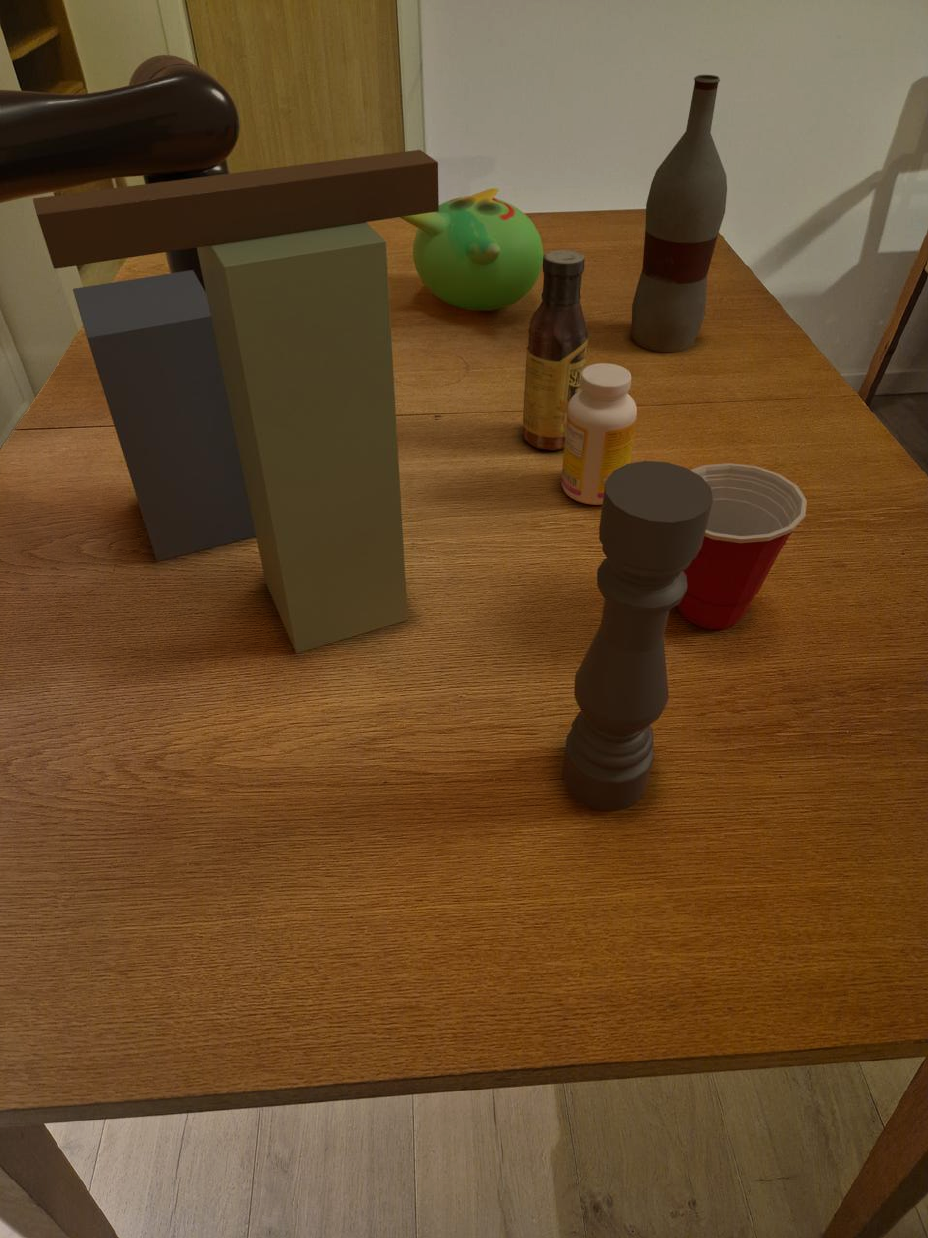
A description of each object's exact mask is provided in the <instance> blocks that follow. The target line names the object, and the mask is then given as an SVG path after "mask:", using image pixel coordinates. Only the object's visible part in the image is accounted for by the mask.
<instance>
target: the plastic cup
mask: <svg viewBox="0 0 928 1238" xmlns="http://www.w3.org/2000/svg"><path fill="white" fill-rule="evenodd" d="M690 470H691V471H692V472H694V473H696V474H698V475H699V476H701V477H702V478H703V479H704V480H705V481H706V483H707V484H708V485H709V486H710V487H711V491H712V497H713V502H712V506H711V510H710V514H709V519H708V523H707V527H706V531H705V535H704V539H703V543H702V547H701V549H700V551H699V552H698V554H697V556H696V558H695V559H693V560H692V561H691V563H690V565H689V566H688V568H687V569H685V570H683V572H684V573H685V575H686V578H687V591H686V593H685V595H684V596H683V598H682V600H681V602H680V603H679V604H678V605H677V609H678V612H679V614H680V615H681V616H682V617H683V618H684V619H685V620H686V621H688V622H689V623H691V624H693V625H695V626H697V627H700V628H703V629H708V630H726V629H728V628H731V627H734V626H735V625H736V624H737V623H738V622H739V621H740V620H741V619H742V618H743V617H744V616H745V614H747V613H746V612H747V611H748V609H749V607H750V605H751V604H752V602H753V600H754V598H755V596H756V595H757V594H758V593H759V591H760V590H761V587H762V586H763V584H764V582H765V581H766V578H767V577H768V575H769V574H770V571H771V569H772V567H773V566H774V563H775V562H776V560H777V558H778V556H779V554H780V553H781V551H782V549H783V548H784V546H785V545H786V543H787V541H788V539H789V537H790V536H791V535H792V534H793V531H794V530H795V528H797V526H799V525H800V523H801V522H802V521H804V519H805V517H806V515H807V505H808V499H807V498H806V496H805V495H804V494H803V492H802V490H801V489H800V488H799V486H798V485H797V484H795V483H794V482H793V481H791V480H789V479H788V478H787V477H785V476H783V475H782V474H781V473H778V472H775V471H771V470H769V469H766V468H762V467H760V466H757V465H748V464H740V463H732V462H727V463H714V464H704V465H701V466H698V467H695V468H692V469H690Z"/></svg>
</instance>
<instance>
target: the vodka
mask: <svg viewBox="0 0 928 1238" xmlns="http://www.w3.org/2000/svg"><path fill="white" fill-rule="evenodd" d="M693 81H694V85H693V90H692V94H691V101H690V106H689V111H688V118H687V123H686V129H685V132H684V133H683V134H682V136H681V137H680V139H679V140H678V141H677V142H676V144H675V145H674V146H673V148H671V150H670V152H669V153H668V154H667V155H666V157H665V158H664V159H663V161H662V163H661V164H659V166H658V167H657V168H656V171H655V172H654V176H653V178H652V180H651V184H650V188H649V192H648V195H647V199H646V203H645V229H644V243H643V254H642V255H643V256H642V268H641V272H640V275H639V278H638V282H637V286H636V289H635V293H634V295H633V296H634V297H633V300H632V305H631V332H632V333H631V334H632V339H633V341H634V342H635V344H636V345H638V346H639V347H641V348H643V349H646V350H648V351H653V352H657V353H669V354H670V353H679V352H683V351H686V350H688V349H690V348H691V347H693V345H694V343H695V341H696V339H697V337H698V335H699V334H700V332H701V328H702V325H703V321H704V319H705V315H706V304H707V294H708V293H707V292H708V291H707V290H708V274H709V270H710V266H711V263H712V259H713V255H714V251H715V248H716V244H717V240H718V237H719V234H720V229H721V227H722V223H723V221H724V217H725V215H726V207H727V197H728V182H727V179H728V178H727V174H726V171H725V168H724V165H723V163H722V160H721V157H720V155H719V154H720V153H719V151H718V149H717V147H716V144H715V141H714V139H713V136H712V133H711V132H712V124H713V119H714V112H715V107H716V100H717V93H718V87H719V83H720V82H721V79H720V77H719V76H717V75H713V74H697V75H696V76H695V77H694V78H693Z"/></svg>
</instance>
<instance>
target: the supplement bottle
mask: <svg viewBox="0 0 928 1238" xmlns="http://www.w3.org/2000/svg"><path fill="white" fill-rule="evenodd" d="M631 384H632V374H631V372H630V371H629V370H628V369H627V368H625V367H623V366H622V365H618V364H614V363H607V362H601V363H599V362H598V363H594V364H590V365H588V366H587V365H586V366H585V368H584V369H583V371H582V373H581V380H580V386H581V390H580V391H579V392H577V393H576V394H575V395H574V396H573V397H572V398H571V400H570V402H569V404H568V411H567V422H566V433H565V444H564V448H563V457H562V467H561V468H562V470H561V487H562V489H563V491H564V493H565V495H567V496H568V497H569V498H571V499H572V500H574V501H576V502H579V503H582V504H587V505H593V506H594V505H595V506H597V505H598V506H602V504H603V497H604V490H605V482H606V480H607V479H608V477H609V476H610V475H611V473H612V472H613V471H614V470H616V469H618V468H620V467H622V466H624V465H626V464H630V463H631V457H632V450H633V444H634V443H633V442H634V436H635V429H636V421H637V413H638V407H637V404H636V401H635V400H634V398H633V397H632V396H631V395H629V394H628V393H629V391H630V390H631Z"/></svg>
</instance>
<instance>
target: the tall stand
mask: <svg viewBox="0 0 928 1238" xmlns="http://www.w3.org/2000/svg"><path fill="white" fill-rule="evenodd" d="M197 251H198V256H199V261H200V266H201V271H202V276H203V281H204V285H205V290H206V295H207V300H208V305H209V310H210V315H211V320H212V324H213V329H214V334H215V339H216V344H217V349H218V354H219V358H220V363H221V368H222V373H223V378H224V383H225V388H226V393H227V397H228V402H229V407H230V412H231V417H232V422H233V427H234V431H235V436H236V441H237V446H238V451H239V456H240V461H241V466H242V470H243V475H244V480H245V485H246V490H247V495H248V500H249V504H250V509H251V514H252V519H253V524H254V529H255V534H256V536H255V539H256V543H257V548H258V554H259V558H260V562H261V566H262V567H261V568H262V572H263V577H264V581H265V585H266V587H267V589H268V591H269V594H270V597H271V599H272V601H273V603H274V605H275V607H276V610H277V612H278V615H279V617H280V619H281V622H282V624H283V627H284V629H285V632H286V634H287V635H288V638H289V640H290V643H291V646H292V647H293V650H294V652H295V654H300V653H303V652H306V651H307V652H308V651H310V650H313V649H317V648H320V647H323V646H327V645H329V644H333V643H337V642H339V641H344V640H347V639H350V638H353V637H356V636H360V635H363V634H367V633H370V632H373V631H377V630H380V629H383V628H386V627H389V626H393V625H396V624H399V623H403V622H407V621H408V620H409V613H408V599H407V583H406V581H407V580H406V563H405V562H406V561H405V547H404V545H405V544H404V531H403V530H404V529H403V513H402V495H401V494H402V493H401V479H400V462H399V461H400V459H399V444H398V426H397V409H396V408H397V407H396V392H395V374H394V358H393V357H394V355H393V341H392V340H393V338H392V325H391V307H390V306H391V305H390V304H391V303H390V289H389V288H390V287H389V272H388V255H387V253H388V252H387V241H386V239H384V238H383V237H382V236H381V235H380V234H379V232H377V231H376V230H375V229H374V227H372V226H371V225H370V224H369V223H368V222H364V223H357V224H351V225H344V226H337V227H331V228H324V229H317V230H311V231H304V232H297V233H291V234H284V235H277V236H271V237H264V238H257V239H250V240H244V241H237V242H230V243H224V244H217V245H210V246H204V247H197Z"/></svg>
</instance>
